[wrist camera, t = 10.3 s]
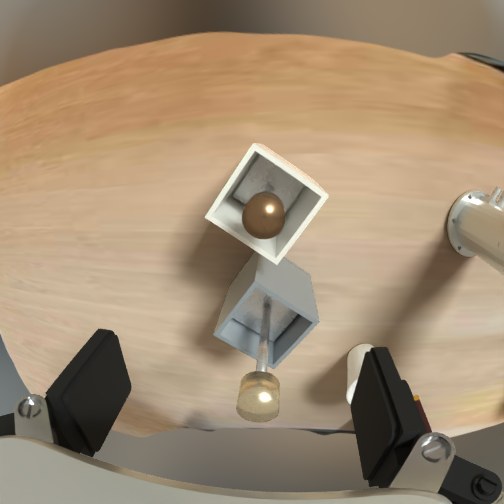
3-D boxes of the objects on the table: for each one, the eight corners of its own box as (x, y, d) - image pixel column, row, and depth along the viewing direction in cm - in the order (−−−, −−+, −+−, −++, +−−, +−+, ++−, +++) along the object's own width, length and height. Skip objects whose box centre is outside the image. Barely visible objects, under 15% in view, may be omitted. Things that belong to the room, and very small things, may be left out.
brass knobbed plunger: (259, 273, 43) (244, 366, 24) (305, 302, 44) (318, 403, 25) (229, 313, 45) (200, 411, 27) (273, 339, 46) (267, 441, 28)
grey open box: (261, 242, 51) (254, 280, 37) (309, 274, 52) (319, 321, 38) (229, 286, 55) (213, 335, 40) (275, 315, 56) (273, 369, 42)
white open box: (261, 143, 46) (253, 143, 32) (314, 180, 47) (329, 195, 33) (226, 195, 49) (204, 217, 35) (277, 230, 50) (277, 265, 36)
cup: (331, 369, 59) (338, 408, 49) (347, 331, 56) (358, 368, 46) (373, 374, 59) (385, 410, 49) (391, 337, 56) (408, 372, 45)
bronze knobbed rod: (262, 152, 45) (251, 158, 27) (306, 182, 46) (324, 208, 28) (233, 195, 48) (204, 229, 29) (276, 223, 49) (274, 274, 30)
